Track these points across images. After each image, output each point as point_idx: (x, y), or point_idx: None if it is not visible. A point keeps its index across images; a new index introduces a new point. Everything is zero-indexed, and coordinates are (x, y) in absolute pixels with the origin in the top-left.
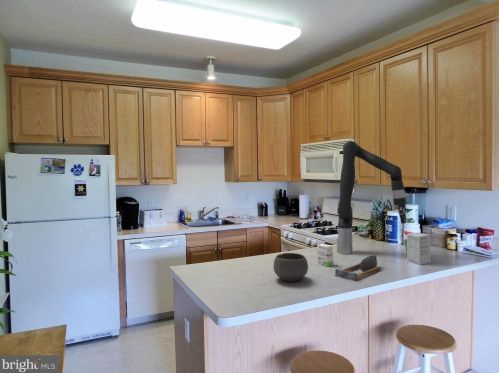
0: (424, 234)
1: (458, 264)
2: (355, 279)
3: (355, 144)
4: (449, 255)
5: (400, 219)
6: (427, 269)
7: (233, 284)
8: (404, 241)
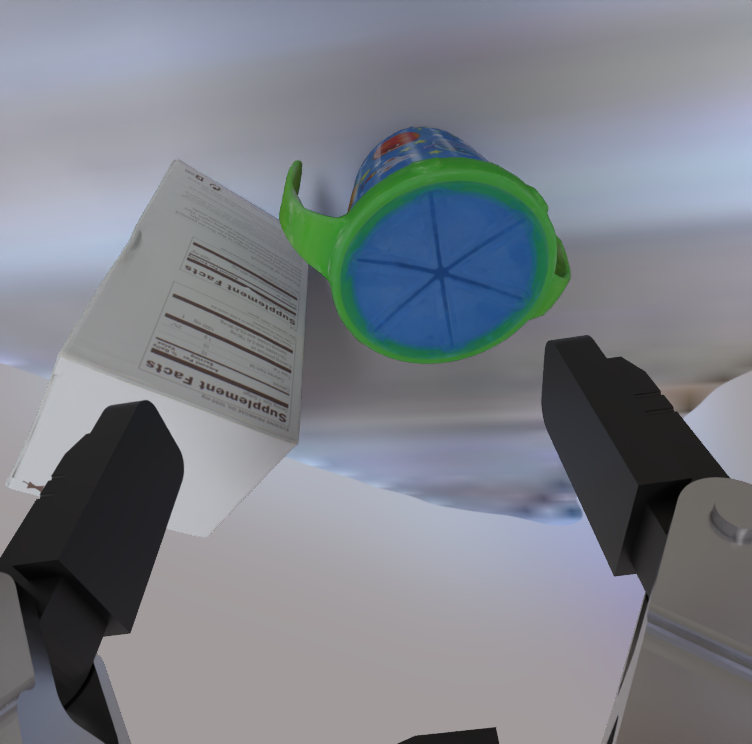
0: (181, 509)
1: (307, 442)
2: None
3: None
4: (528, 400)
5: (573, 375)
6: (37, 326)
7: None
8: (401, 176)
